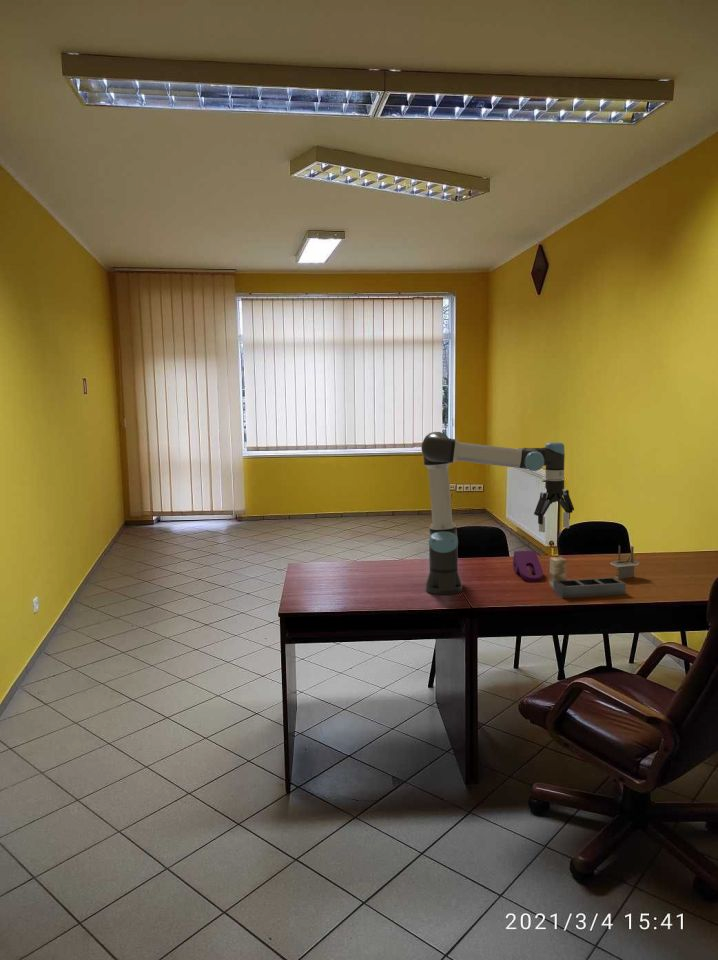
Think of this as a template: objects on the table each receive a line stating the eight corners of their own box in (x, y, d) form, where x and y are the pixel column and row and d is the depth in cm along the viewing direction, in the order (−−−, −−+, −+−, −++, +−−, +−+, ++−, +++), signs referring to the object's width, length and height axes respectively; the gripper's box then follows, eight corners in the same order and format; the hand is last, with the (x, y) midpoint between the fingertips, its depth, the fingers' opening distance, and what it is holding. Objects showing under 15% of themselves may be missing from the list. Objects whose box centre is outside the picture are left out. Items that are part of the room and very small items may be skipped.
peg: (554, 589, 272) (554, 560, 270) (549, 585, 277) (549, 557, 275) (565, 588, 272) (566, 560, 271) (560, 584, 277) (561, 557, 276)
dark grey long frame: (562, 598, 260) (562, 587, 259) (553, 591, 269) (553, 580, 268) (625, 594, 262) (625, 583, 262) (614, 587, 271) (614, 577, 271)
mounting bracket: (542, 592, 287) (532, 564, 302) (545, 577, 282) (535, 550, 297) (520, 592, 287) (512, 565, 302) (523, 578, 282) (514, 551, 297)
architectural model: (584, 575, 291) (584, 544, 289) (629, 568, 300) (630, 538, 298) (617, 588, 272) (618, 555, 270) (665, 581, 280) (666, 548, 278)
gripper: (538, 483, 266) (537, 535, 269) (583, 477, 278) (582, 527, 280) (525, 481, 273) (525, 531, 276) (570, 476, 284) (569, 524, 287)
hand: (554, 529), depth 278 cm, fingers open, 13 cm apart
